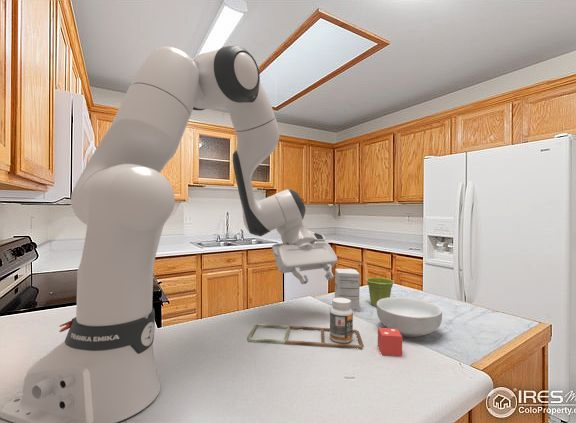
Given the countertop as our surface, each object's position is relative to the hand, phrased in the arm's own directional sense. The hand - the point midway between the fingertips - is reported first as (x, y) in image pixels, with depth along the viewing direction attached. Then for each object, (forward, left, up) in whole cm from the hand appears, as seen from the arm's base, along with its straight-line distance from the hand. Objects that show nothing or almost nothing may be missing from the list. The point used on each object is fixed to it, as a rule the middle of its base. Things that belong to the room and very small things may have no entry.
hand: (318, 280), depth 81 cm
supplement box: (+10, +18, -13) cm, 24 cm away
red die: (+17, -12, -13) cm, 24 cm away
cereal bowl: (+25, +1, -13) cm, 28 cm away
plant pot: (+22, +23, -13) cm, 34 cm away
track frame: (-3, -7, -13) cm, 15 cm away
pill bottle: (+6, -7, -13) cm, 16 cm away
